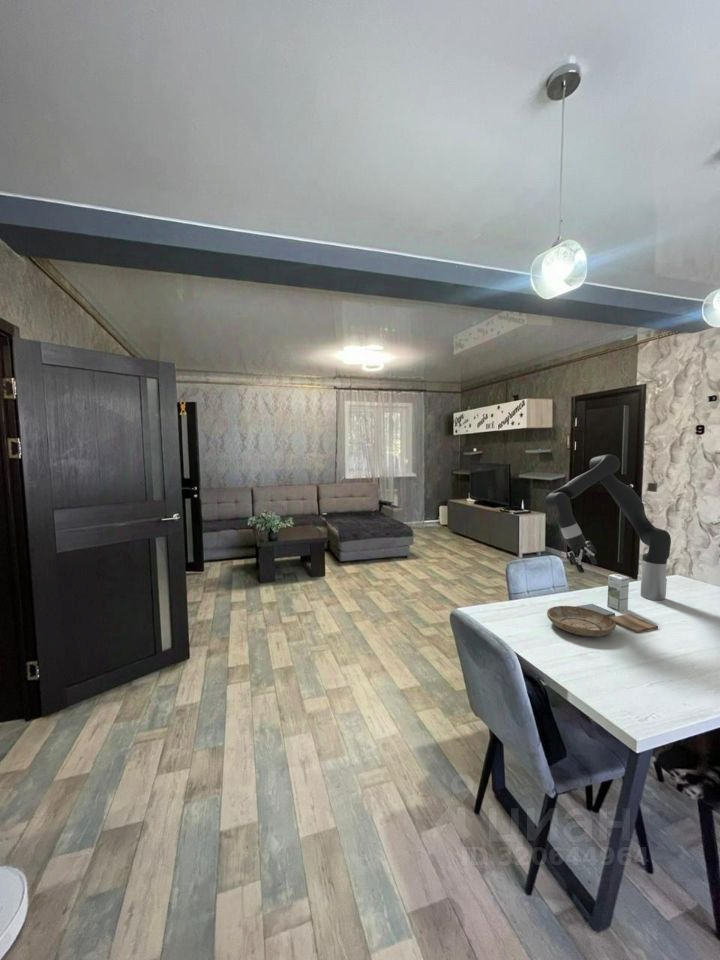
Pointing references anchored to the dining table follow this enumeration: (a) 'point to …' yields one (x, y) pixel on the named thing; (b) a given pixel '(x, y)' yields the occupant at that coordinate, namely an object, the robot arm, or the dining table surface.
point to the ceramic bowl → (581, 620)
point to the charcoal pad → (597, 609)
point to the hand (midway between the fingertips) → (588, 568)
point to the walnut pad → (633, 623)
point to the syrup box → (618, 592)
